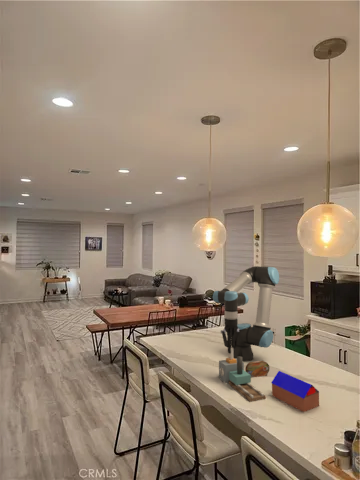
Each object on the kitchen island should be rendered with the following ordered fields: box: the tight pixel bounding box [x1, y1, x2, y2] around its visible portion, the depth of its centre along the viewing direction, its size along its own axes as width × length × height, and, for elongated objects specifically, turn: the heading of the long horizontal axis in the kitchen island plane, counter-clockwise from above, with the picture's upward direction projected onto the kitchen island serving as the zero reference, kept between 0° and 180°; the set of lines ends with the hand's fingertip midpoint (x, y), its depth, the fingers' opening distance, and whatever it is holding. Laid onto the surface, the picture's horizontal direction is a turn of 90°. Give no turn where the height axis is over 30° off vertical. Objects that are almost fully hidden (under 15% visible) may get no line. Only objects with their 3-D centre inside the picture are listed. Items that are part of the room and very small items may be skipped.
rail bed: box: [228, 380, 267, 403], centre depth 168 cm, size 22×9×2 cm, turn 20°
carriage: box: [229, 356, 252, 385], centre depth 174 cm, size 8×9×13 cm
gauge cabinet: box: [218, 358, 245, 384], centre depth 183 cm, size 12×8×10 cm, turn 110°
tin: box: [244, 360, 270, 378], centre depth 188 cm, size 15×3×8 cm, turn 105°
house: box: [270, 370, 320, 413], centre depth 158 cm, size 12×20×12 cm, turn 31°
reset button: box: [225, 357, 237, 364], centre depth 183 cm, size 4×4×3 cm
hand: (231, 358), depth 183 cm, fingers closed
